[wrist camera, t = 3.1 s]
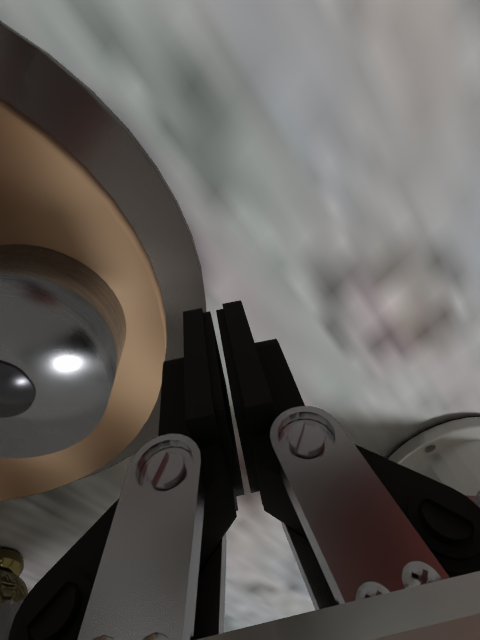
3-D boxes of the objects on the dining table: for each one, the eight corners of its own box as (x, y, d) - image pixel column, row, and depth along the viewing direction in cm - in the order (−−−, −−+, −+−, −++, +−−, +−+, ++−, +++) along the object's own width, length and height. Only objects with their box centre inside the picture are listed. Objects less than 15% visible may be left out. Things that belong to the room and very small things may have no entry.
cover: (93, 229, 13) (56, 272, 9) (145, 371, 16) (133, 440, 13) (-97, 261, 13) (-209, 319, 9) (-1, 398, 16) (-53, 477, 13)
